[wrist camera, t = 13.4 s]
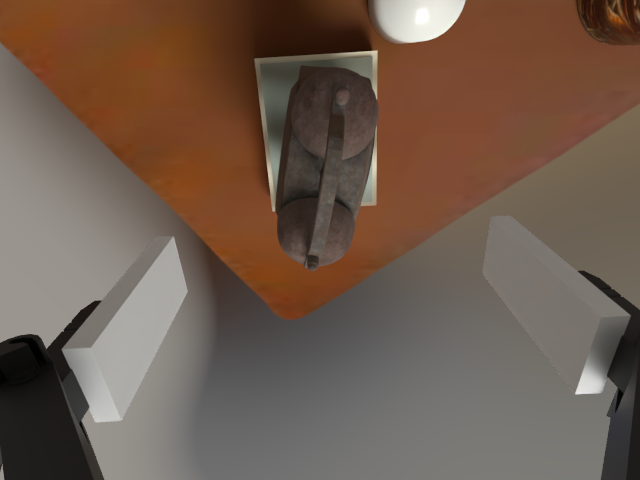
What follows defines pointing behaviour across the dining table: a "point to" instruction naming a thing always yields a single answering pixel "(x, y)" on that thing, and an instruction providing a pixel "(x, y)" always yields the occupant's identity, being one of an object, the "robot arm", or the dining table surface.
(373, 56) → the picture frame
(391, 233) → the dining table surface
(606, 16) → the jar
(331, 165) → the alarm clock
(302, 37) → the dining table surface
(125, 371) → the robot arm
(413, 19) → the dome-top cylinder
